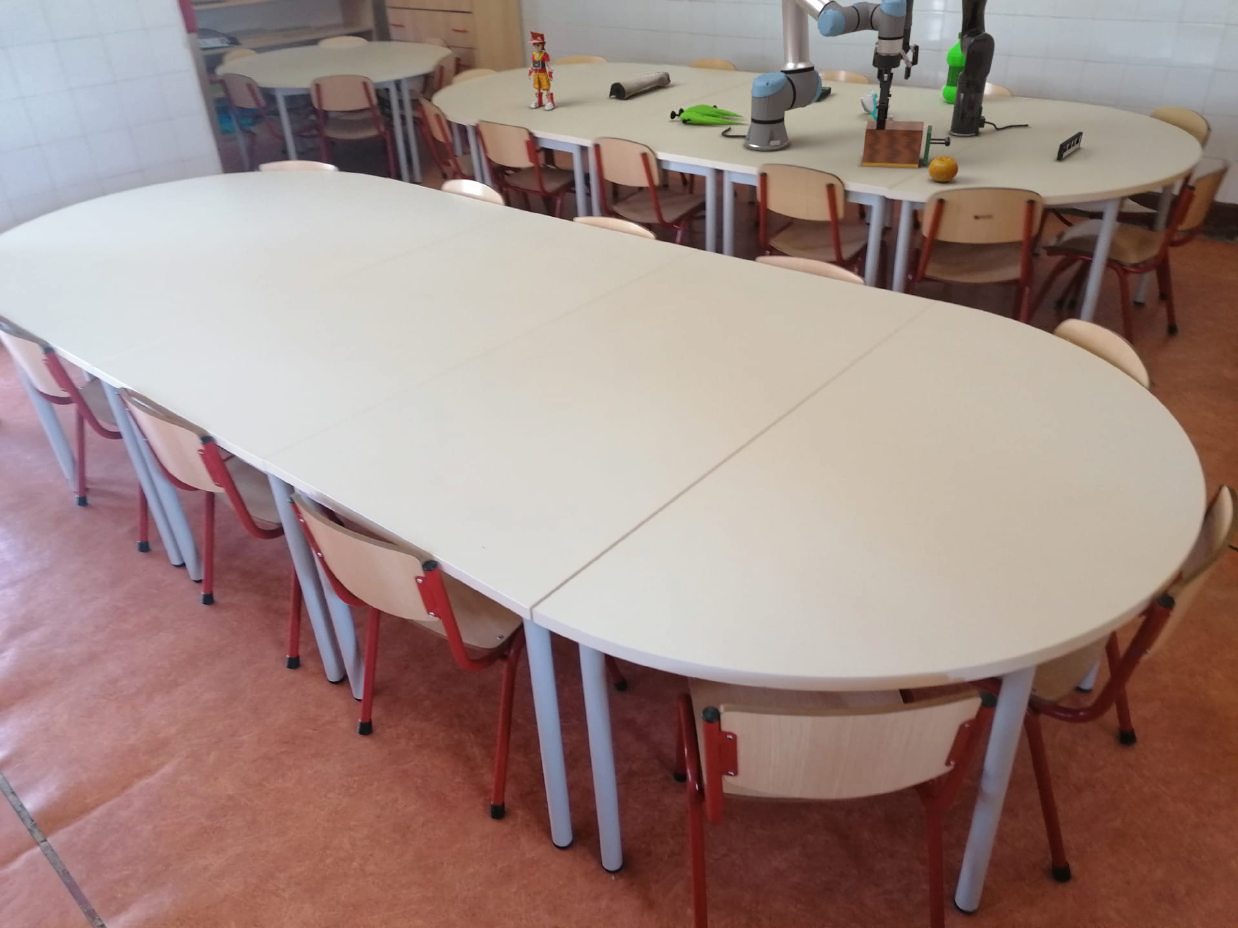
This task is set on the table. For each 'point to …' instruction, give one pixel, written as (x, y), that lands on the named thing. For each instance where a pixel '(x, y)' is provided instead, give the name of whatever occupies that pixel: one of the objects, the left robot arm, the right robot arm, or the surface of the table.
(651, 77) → the rolled mat
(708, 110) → the toy
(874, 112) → the anatomical model
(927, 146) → the drawer
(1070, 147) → the midi keyboard
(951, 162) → the fruit
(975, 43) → the right robot arm
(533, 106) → the toy
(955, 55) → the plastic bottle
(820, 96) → the disk drive
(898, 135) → the cabinet
